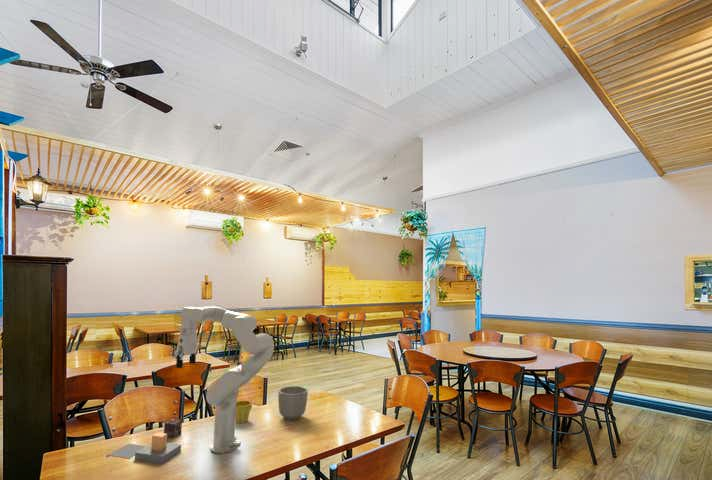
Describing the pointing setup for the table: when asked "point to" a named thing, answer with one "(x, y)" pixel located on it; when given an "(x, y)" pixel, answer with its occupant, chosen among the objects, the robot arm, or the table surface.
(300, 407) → the planter
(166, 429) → the box
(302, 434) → the table surface
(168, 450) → the socket block
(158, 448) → the plug
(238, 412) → the plant pot
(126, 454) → the mat
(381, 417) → the table surface
